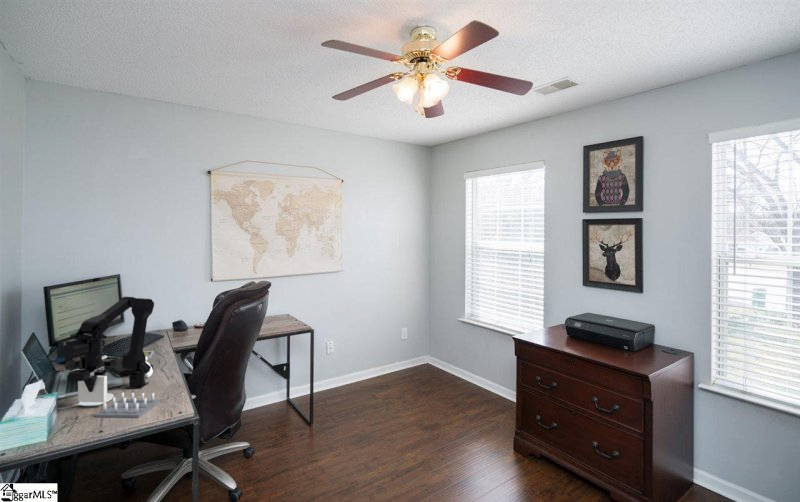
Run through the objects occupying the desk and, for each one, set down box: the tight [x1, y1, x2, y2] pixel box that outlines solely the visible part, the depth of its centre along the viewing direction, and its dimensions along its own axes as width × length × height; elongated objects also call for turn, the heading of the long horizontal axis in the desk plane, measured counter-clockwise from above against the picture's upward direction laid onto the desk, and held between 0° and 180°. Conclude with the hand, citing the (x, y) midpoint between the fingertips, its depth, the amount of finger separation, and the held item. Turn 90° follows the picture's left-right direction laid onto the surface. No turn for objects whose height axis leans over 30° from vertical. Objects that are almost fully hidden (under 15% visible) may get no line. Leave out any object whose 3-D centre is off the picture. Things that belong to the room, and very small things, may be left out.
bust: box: [145, 357, 154, 378], centre depth 191 cm, size 12×8×11 cm
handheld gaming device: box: [143, 350, 155, 360], centre depth 223 cm, size 9×1×15 cm
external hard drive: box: [105, 357, 154, 378], centre depth 201 cm, size 14×23×3 cm, turn 53°
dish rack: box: [95, 392, 162, 419], centre depth 155 cm, size 14×16×4 cm
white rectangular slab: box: [77, 375, 108, 403], centre depth 157 cm, size 2×10×10 cm, turn 92°
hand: (92, 390), depth 157 cm, fingers closed on white rectangular slab, 2 cm apart
